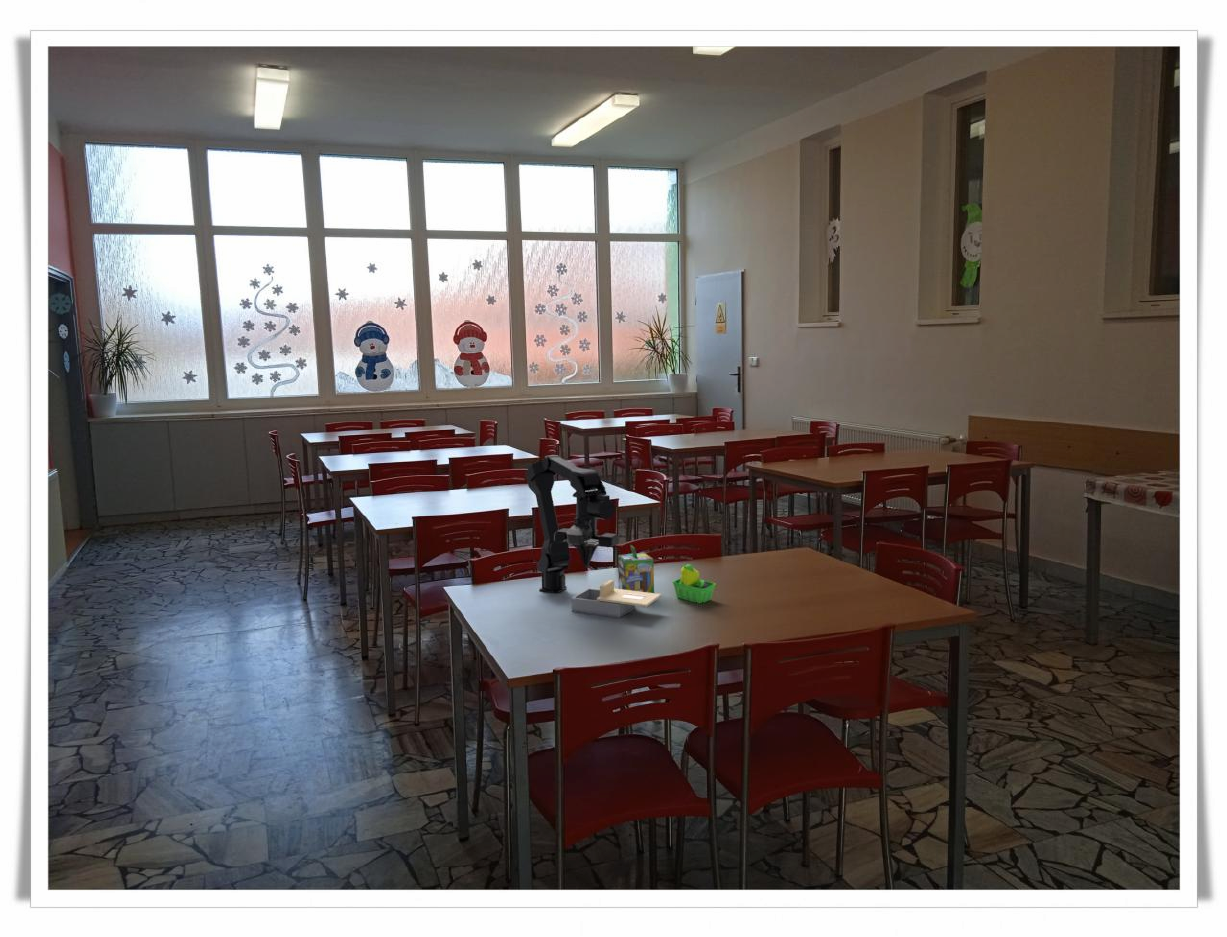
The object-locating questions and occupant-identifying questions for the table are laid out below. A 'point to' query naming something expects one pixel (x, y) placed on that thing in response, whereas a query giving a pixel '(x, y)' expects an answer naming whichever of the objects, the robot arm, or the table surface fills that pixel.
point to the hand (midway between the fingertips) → (586, 566)
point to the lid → (625, 595)
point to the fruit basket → (693, 586)
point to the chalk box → (636, 572)
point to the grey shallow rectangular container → (598, 605)
